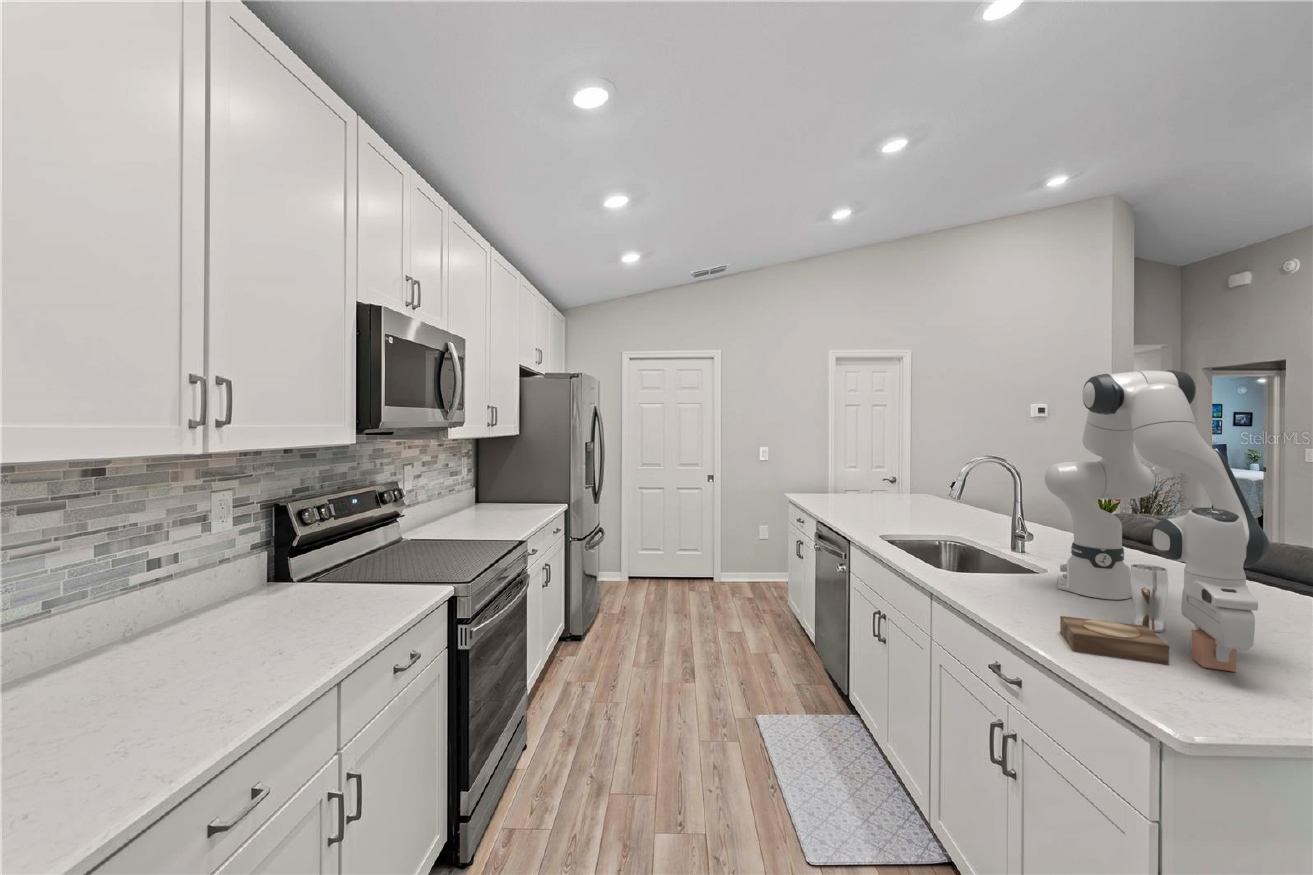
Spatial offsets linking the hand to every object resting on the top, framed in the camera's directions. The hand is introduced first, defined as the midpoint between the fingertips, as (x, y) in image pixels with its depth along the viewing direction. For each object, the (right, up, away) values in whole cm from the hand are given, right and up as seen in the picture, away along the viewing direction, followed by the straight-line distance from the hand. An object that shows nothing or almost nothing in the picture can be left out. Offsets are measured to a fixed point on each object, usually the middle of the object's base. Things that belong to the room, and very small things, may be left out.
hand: (1213, 654), depth 110 cm
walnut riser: (-13, -2, +10) cm, 16 cm away
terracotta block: (0, -2, 0) cm, 2 cm away
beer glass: (+6, -2, +21) cm, 21 cm away
